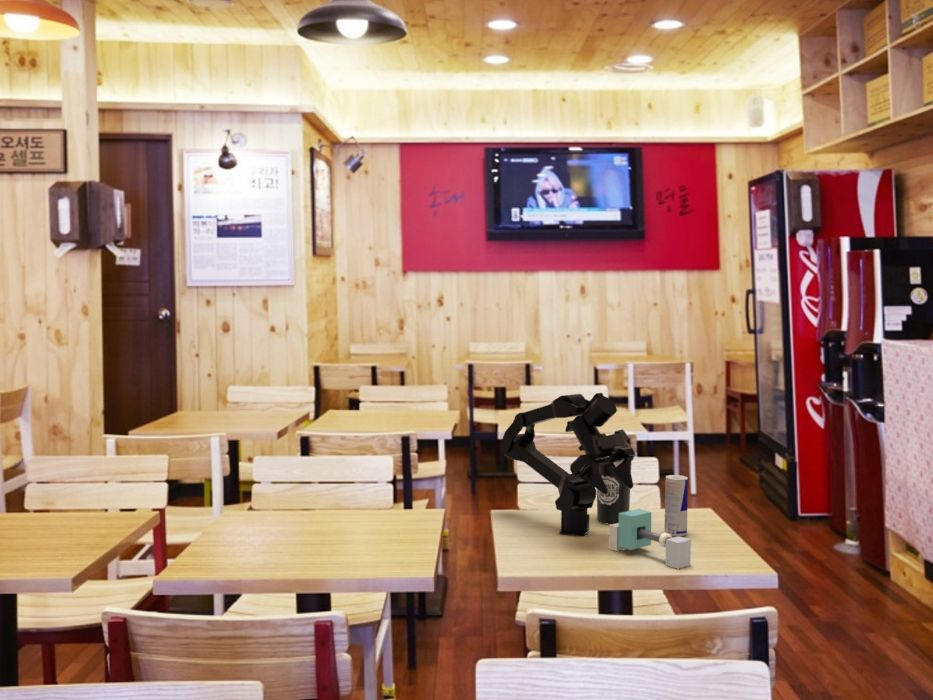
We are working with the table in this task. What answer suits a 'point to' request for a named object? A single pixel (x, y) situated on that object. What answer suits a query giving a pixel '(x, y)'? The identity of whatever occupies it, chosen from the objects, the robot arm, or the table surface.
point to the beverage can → (676, 505)
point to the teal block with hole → (633, 528)
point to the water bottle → (612, 494)
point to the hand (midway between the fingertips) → (619, 490)
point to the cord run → (675, 547)
